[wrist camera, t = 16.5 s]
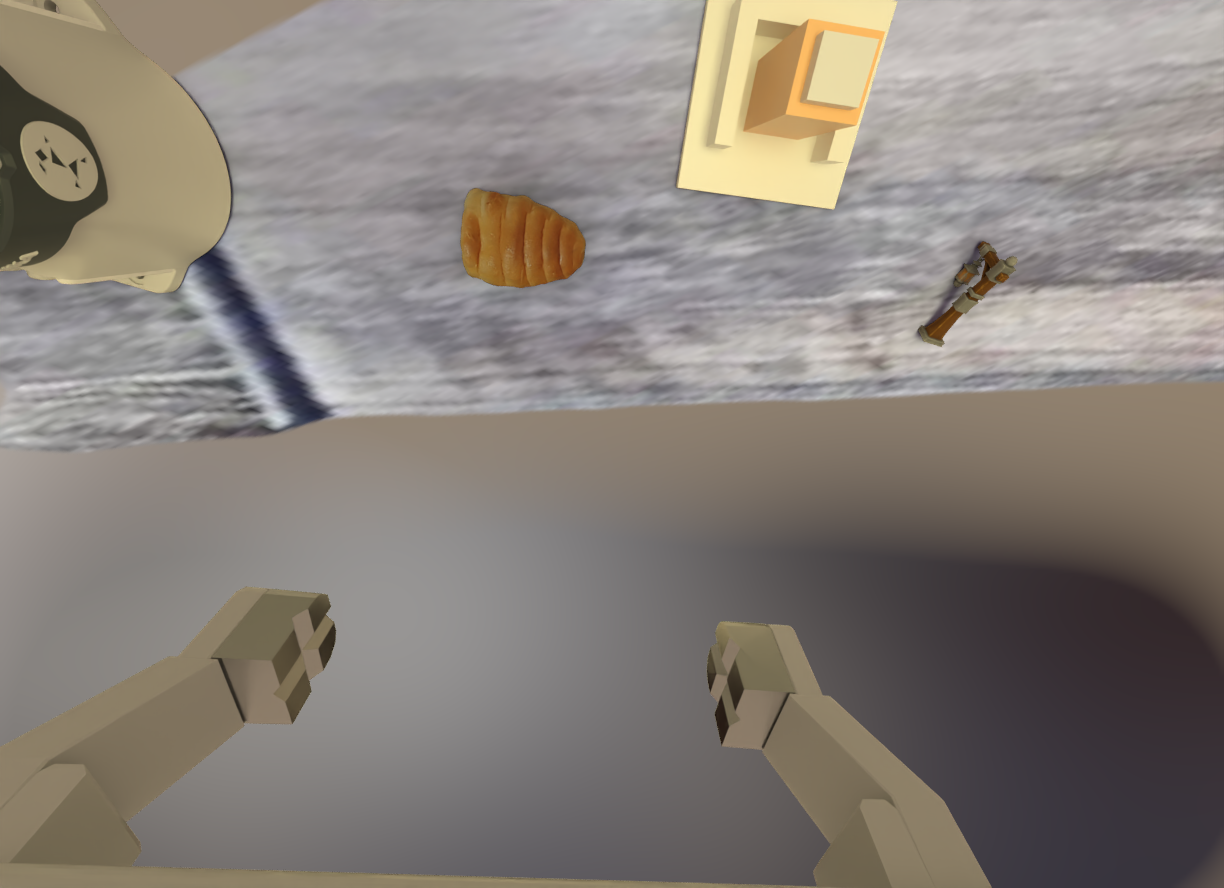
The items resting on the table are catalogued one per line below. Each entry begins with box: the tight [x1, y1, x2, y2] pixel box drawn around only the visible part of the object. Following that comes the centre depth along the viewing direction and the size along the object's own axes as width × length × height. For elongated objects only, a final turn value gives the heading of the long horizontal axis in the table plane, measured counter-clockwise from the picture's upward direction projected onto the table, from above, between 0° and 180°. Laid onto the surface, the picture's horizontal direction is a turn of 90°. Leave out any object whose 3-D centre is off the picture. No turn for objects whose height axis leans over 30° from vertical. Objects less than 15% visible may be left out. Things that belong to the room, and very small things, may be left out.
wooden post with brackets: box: [918, 242, 1017, 347], centre depth 39 cm, size 2×8×4 cm, turn 163°
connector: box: [743, 19, 885, 140], centre depth 29 cm, size 4×4×10 cm
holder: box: [676, 0, 897, 209], centre depth 32 cm, size 12×12×4 cm
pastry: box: [460, 188, 586, 288], centre depth 36 cm, size 9×7×4 cm
